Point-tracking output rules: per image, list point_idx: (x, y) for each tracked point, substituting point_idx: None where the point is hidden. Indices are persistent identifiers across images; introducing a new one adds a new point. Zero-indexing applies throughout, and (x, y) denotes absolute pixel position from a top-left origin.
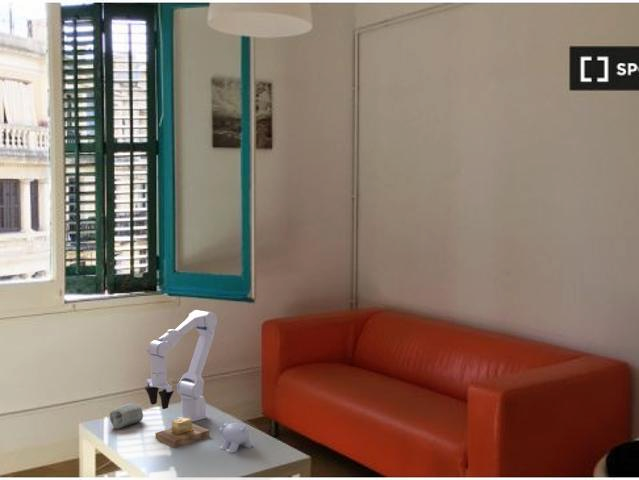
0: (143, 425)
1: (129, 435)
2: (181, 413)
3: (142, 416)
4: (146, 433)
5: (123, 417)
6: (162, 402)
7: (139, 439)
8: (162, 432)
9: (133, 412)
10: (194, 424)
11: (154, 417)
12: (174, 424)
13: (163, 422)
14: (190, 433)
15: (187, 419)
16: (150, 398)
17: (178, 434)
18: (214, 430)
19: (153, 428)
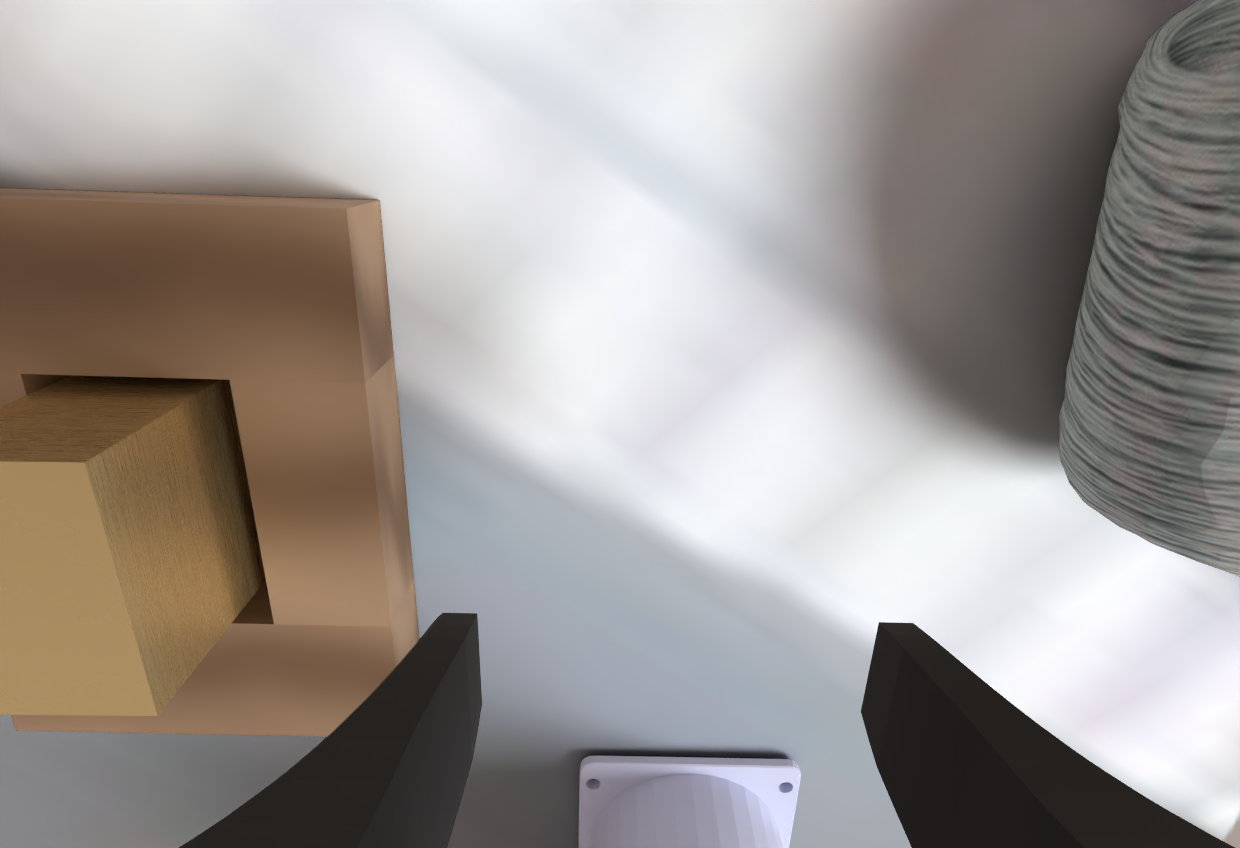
0: (952, 408)
1: (800, 20)
2: (744, 833)
3: (1073, 484)
4: (674, 256)
5: (1210, 94)
6: (368, 708)
7: (540, 25)
8: (293, 297)
9: (1166, 333)
10: (311, 732)
11: (1047, 643)
12: (28, 443)
13: (828, 616)
14: None
15: (15, 671)
16: (966, 709)
17: (41, 394)
18: (220, 792)
19: (758, 428)
